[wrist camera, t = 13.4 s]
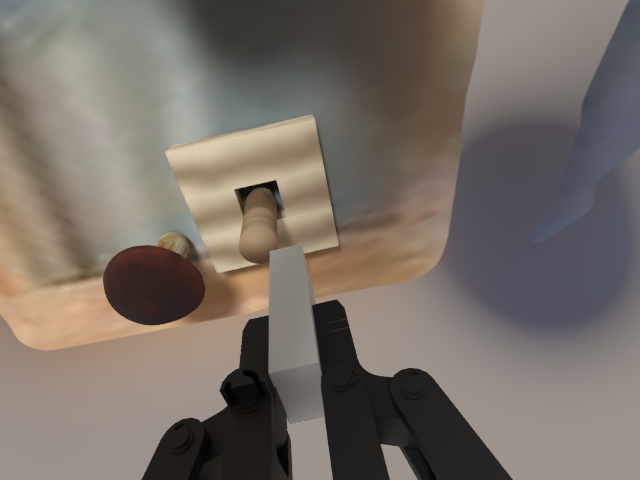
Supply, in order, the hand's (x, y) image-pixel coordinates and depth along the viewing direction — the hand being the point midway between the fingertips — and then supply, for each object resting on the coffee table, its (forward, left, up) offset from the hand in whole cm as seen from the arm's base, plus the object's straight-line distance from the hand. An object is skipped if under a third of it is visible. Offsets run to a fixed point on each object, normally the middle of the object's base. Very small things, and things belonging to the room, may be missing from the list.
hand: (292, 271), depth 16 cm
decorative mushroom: (+12, -18, -32) cm, 39 cm away
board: (+8, -5, -32) cm, 33 cm away
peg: (+8, -5, -32) cm, 33 cm away
